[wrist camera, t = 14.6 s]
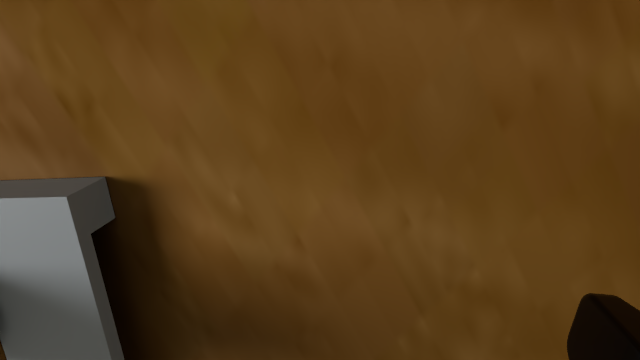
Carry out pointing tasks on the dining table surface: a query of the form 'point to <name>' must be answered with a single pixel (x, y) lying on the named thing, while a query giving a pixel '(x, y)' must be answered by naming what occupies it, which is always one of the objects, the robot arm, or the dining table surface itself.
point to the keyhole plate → (54, 271)
